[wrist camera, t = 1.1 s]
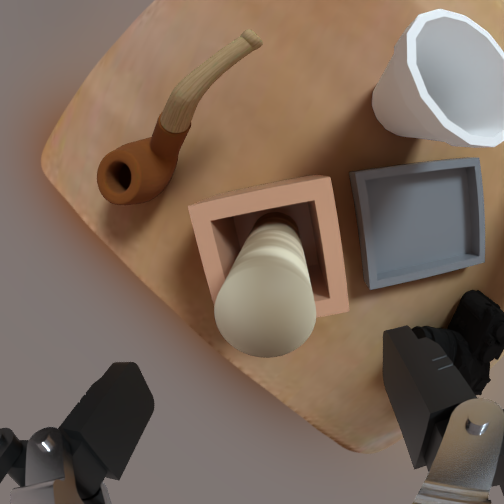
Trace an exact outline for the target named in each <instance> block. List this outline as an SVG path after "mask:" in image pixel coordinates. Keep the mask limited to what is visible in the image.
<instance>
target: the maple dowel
mask: <svg viewBox="0 0 504 504" xmlns="http://www.w3.org/2000/svg"><path fill="white" fill-rule="evenodd" d="M214 315H215V321H216V324H217V327H218V329H219V331H220V333H221V334H222V336H223V337H224V339H225V340H226V341H227V342H228V343H229V344H231V345H232V346H233V347H234V348H236V349H237V350H239V351H241V352H243V353H246V354H248V355H252V356H256V357H266V358H269V357H277V356H282V355H285V354H287V353H290V352H292V351H294V350H295V349H297V348H298V347H299V346H301V345H302V344H303V343H304V342H305V341H306V340H307V338H308V337H309V336H310V334H311V332H312V330H313V328H314V325H315V321H316V306H315V301H314V296H313V292H312V287H311V282H310V278H309V273H308V269H307V264H306V260H305V255H304V251H303V247H302V243H301V238H300V234H299V230H298V227H297V225H296V223H295V221H294V220H293V219H292V218H291V217H289V216H288V215H286V214H284V213H281V212H270V213H267V214H264V215H263V216H261V217H260V218H259V219H258V220H257V221H256V222H255V224H254V226H253V228H252V230H251V232H250V234H249V236H248V237H247V239H246V241H245V243H244V245H243V247H242V249H241V251H240V253H239V255H238V257H237V258H236V260H235V262H234V264H233V266H232V268H231V270H230V272H229V274H228V276H227V278H226V280H225V282H224V284H223V285H222V287H221V289H220V291H219V293H218V295H217V298H216V301H215V307H214Z"/></svg>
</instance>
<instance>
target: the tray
mask: <svg viewBox="0 0 504 504" xmlns="http://www.w3.org/2000/svg"><path fill="white" fill-rule="evenodd" d="M349 175H350V181H351V187H352V192H353V198H354V205H355V211H356V218H357V225H358V232H359V240H360V248H361V257H362V266H363V276H364V281H365V283H366V284H367V286H368V288H369V289H370V290H372V289H377V288H382V287H386V286H391V285H395V284H400V283H404V282H409V281H413V280H417V279H421V278H426V277H430V276H434V275H438V274H442V273H446V272H450V271H454V270H458V269H461V268H465V267H469V266H473V265H476V264H480V263H484V262H485V216H484V198H483V186H482V177H481V168H480V160H479V158H456V159H445V160H436V161H427V162H418V163H410V164H402V165H394V166H387V167H380V168H373V169H366V170H359V171H353V172H349Z"/></svg>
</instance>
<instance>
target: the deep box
mask: <svg viewBox="0 0 504 504" xmlns="http://www.w3.org/2000/svg"><path fill="white" fill-rule="evenodd" d="M188 209H189V213H190V217H191V221H192V225H193V229H194V233H195V237H196V241H197V245H198V249H199V252H200V256H201V260H202V264H203V268H204V271H205V275H206V279H207V282H208V286H209V289H210V293H211V296H212V300H213V303H214V307H215V301H216V298H217V295H218V293H219V291H220V289H221V287H222V285H223V284H224V282H225V280H226V278H227V276H228V274H229V272H230V270H231V268H232V266H233V264H234V262H235V260H236V258H237V257H238V255H239V253H240V251H241V249H242V247H243V245H244V243H245V241H246V239H247V237H248V236H249V234H250V232H251V230H252V228H253V226H254V224H255V222H256V221H257V220H258V219H259V218H260V217H261V216H263V215H264V214H267V213H270V212H281V213H284V214H286V215H288V216H289V217H291V218H292V219H293V220H294V221H295V223H296V225H297V227H298V230H299V234H300V238H301V243H302V247H303V251H304V255H305V260H306V264H307V269H308V273H309V278H310V282H311V287H312V292H313V296H314V301H315V306H316V318H317V317H322V316H328V315H333V314H338V313H344V312H349V302H348V292H347V283H346V275H345V266H344V259H343V251H342V244H341V237H340V230H339V224H338V217H337V211H336V205H335V200H334V194H333V188H332V183H331V178H330V177H327V176H322V175H316V174H315V175H310V176H304V177H299V178H293V179H288V180H283V181H278V182H273V183H268V184H263V185H258V186H253V187H248V188H244V189H239V190H235V191H230V192H226V193H221V194H217V195H214V196H212V197H209V198H207V199H204V200H202V201H199V202H197V203H195V204H192V205H190V206H188Z"/></svg>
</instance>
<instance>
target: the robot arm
mask: <svg viewBox="0 0 504 504" xmlns="http://www.w3.org/2000/svg"><path fill="white" fill-rule="evenodd" d="M383 380H384V385H385V389H386V392H387V394H388V397H389V399H390V402H391V405H392V407H393V410H394V412H395V415H396V418H397V421H398V423H399V426H400V429H401V432H402V434H403V437H404V440H405V443H406V446H407V448H408V452H409V455H410V458H411V461H412V464H413V467H414V469H417V468H420V467H423V466H427V468H428V471H429V473H428V475H427V477H426V479H425V481H424V484H423V486H422V488H421V489H420V491H419V493H418V494H417V496H416V499H415V500H414V502H413V504H491V500H488V495H489V491H490V488H491V486H497V485H500V487H501V490H502V492H503V495H504V409H502V408H501V407H500V406H499V405H498V404H497V403H495V402H494V401H492V400H488V399H483V398H477V397H476V395H475V394H474V392H473V391H472V389H471V388H470V386H469V385H468V383H467V382H466V381H465V379H464V378H463V376H462V375H461V374H460V372H459V371H458V369H457V368H456V367H455V365H454V366H453V362H452V361H451V360H450V358H449V357H447V354H446V353H445V352H444V350H443V349H442V348H441V346H440V345H439V344H438V343H436V342H434V341H432V340H431V339H429V338H427V337H424V338H421V339H418V338H417V337H416V335H415V334H414V332H413V331H412V330H411V328H410V327H409V326H403V327H399V328H395V329H390V330H386V331H384V333H383ZM153 411H154V399H153V396H152V394H151V392H150V390H149V388H148V386H147V384H146V381H145V379H144V377H143V375H142V373H141V371H140V369H139V367H138V365H137V364H136V363H134V362H116V363H113V364H112V365H111V366H110V367H109V369H108V370H107V371H106V372H105V374H104V375H103V376H102V377H101V378H100V379H99V380H98V381H96V382H95V383H94V384H93V385H92V386H91V387H90V388H89V390H88V391H87V392H86V395H84V396H83V397H82V398H81V400H80V403H78V404H77V405H76V406H75V407H74V409H73V410H72V411H71V413H70V414H69V415H68V416H67V418H66V419H65V421H64V422H63V423H62V424H61V426H60V427H59V428H58V429H57V428H55V427H47V428H43V429H41V430H39V431H37V432H36V433H34V434H33V435H32V437H31V438H30V439H29V440H19V439H18V438H17V437H16V435H15V434H14V433H13V432H12V430H11V429H9V428H2V429H0V483H1V481H2V480H3V478H4V477H5V475H6V474H7V473H8V474H9V476H10V477H11V478H12V479H13V480H14V481H15V482H16V483H17V484H18V485H19V486H20V487H18V488H14V489H12V491H11V494H10V504H111V500H110V497H109V493H108V490H107V487H106V485H105V484H104V483H103V480H104V478H105V477H107V478H111V479H115V480H120V478H121V475H122V474H123V471H124V470H125V467H126V465H127V463H128V461H129V459H130V457H131V455H132V453H133V451H134V449H135V447H136V445H137V443H138V441H139V439H140V437H141V435H142V433H143V431H144V429H145V427H146V425H147V423H148V421H149V419H150V417H151V415H152V413H153Z"/></svg>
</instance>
